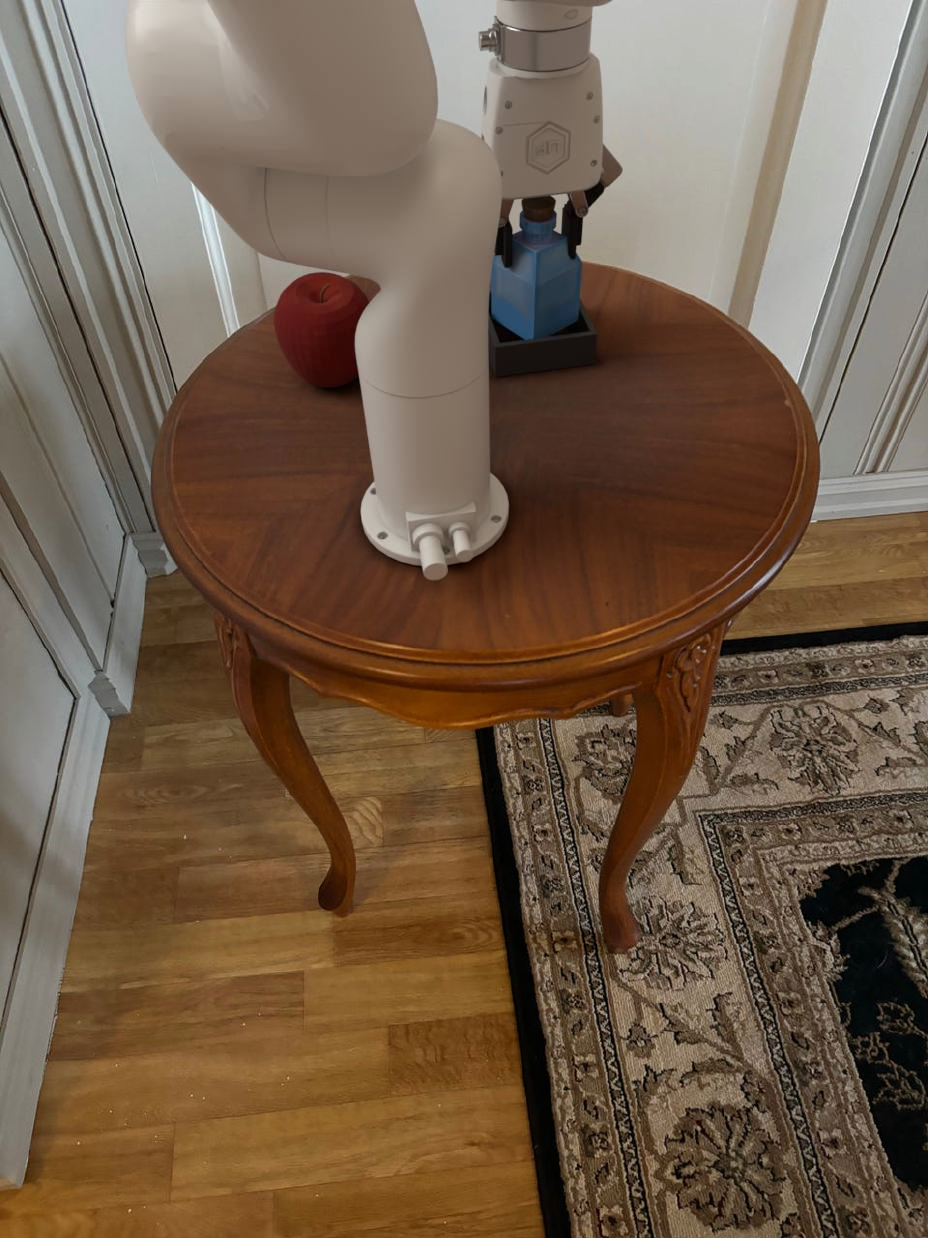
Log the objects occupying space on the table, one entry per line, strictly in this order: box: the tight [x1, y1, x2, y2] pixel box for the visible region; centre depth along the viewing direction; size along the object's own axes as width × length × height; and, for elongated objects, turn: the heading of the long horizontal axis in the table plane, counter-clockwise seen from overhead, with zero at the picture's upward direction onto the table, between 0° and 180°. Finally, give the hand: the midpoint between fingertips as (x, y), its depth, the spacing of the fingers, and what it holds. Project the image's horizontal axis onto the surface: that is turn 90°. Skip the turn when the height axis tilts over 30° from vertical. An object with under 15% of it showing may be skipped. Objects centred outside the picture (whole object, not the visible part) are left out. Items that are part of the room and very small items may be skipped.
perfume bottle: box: [490, 195, 583, 340], centre depth 86 cm, size 6×6×12 cm
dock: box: [488, 289, 598, 378], centre depth 91 cm, size 10×10×4 cm
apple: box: [273, 271, 370, 389], centre depth 86 cm, size 10×10×10 cm
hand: (536, 254), depth 85 cm, fingers closed on perfume bottle, 5 cm apart
